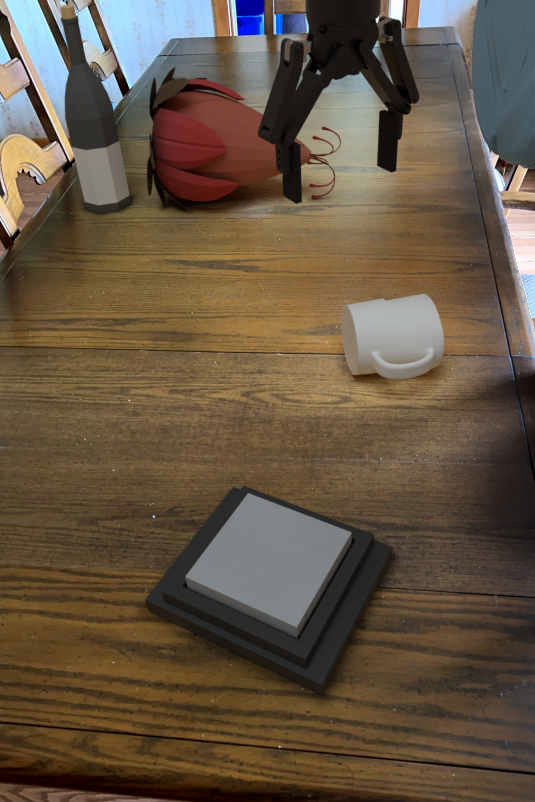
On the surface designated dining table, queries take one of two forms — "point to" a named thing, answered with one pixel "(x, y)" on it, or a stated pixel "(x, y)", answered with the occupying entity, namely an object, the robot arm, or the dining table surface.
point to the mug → (392, 337)
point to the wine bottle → (92, 128)
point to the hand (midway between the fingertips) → (340, 183)
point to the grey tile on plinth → (270, 563)
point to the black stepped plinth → (256, 641)
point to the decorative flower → (209, 142)
